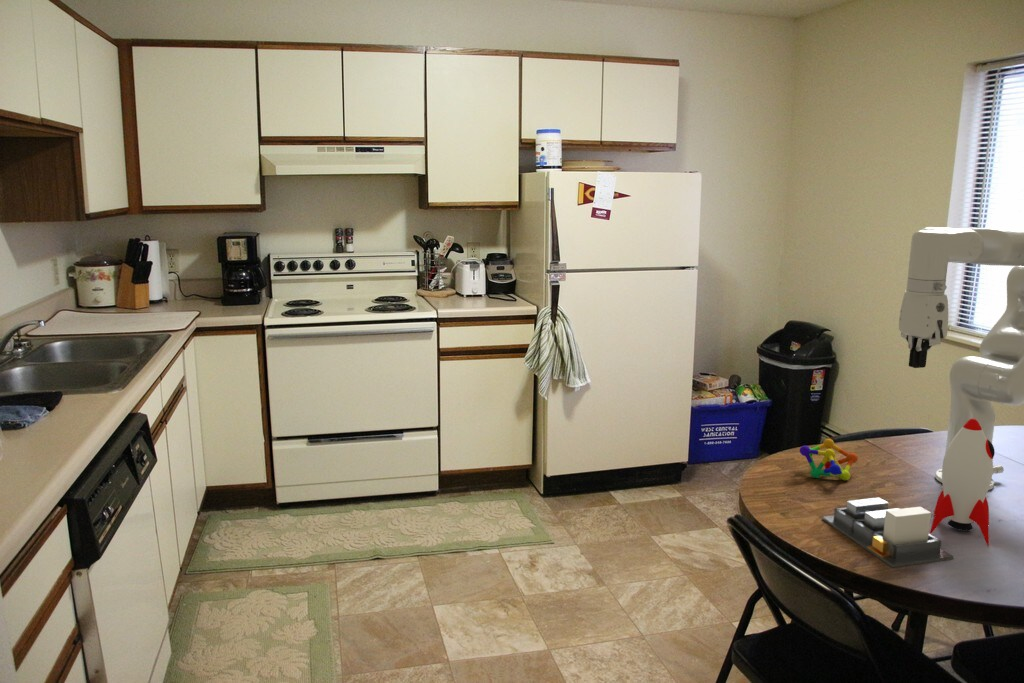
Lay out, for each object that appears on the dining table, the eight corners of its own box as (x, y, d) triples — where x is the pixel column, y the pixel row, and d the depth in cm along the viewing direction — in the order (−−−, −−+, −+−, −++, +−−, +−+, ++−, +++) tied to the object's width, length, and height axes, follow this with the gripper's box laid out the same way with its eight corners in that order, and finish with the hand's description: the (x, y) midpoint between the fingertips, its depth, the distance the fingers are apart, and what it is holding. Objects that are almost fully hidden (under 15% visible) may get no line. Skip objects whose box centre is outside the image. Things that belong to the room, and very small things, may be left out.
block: (916, 542, 155) (920, 506, 153) (926, 549, 152) (931, 512, 151) (882, 546, 153) (885, 510, 152) (892, 553, 151) (896, 516, 149)
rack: (876, 512, 171) (879, 489, 169) (953, 559, 150) (956, 532, 148) (822, 519, 167) (824, 495, 166) (892, 567, 146) (895, 541, 145)
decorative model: (871, 462, 190) (839, 459, 181) (855, 491, 192) (822, 490, 184) (829, 435, 200) (797, 432, 191) (814, 463, 202) (781, 461, 193)
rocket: (988, 546, 155) (1004, 430, 149) (929, 534, 160) (943, 421, 155) (989, 525, 164) (1004, 415, 159) (933, 514, 169) (946, 408, 164)
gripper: (967, 290, 161) (956, 373, 165) (915, 281, 175) (907, 358, 179) (937, 292, 159) (927, 376, 163) (887, 282, 173) (879, 360, 177)
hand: (917, 366), depth 171 cm, fingers closed
